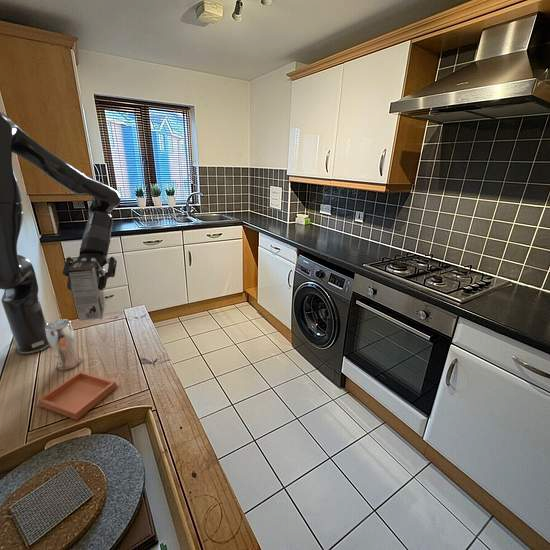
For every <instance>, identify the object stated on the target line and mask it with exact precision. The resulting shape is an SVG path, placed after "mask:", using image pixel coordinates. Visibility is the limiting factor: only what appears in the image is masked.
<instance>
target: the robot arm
mask: <svg viewBox="0 0 550 550" xmlns="http://www.w3.org/2000/svg"><path fill="white" fill-rule="evenodd" d="M13 154H15V155H17V156H18V157H20V158H22V159H24V160H25V161H27V162H28V163H29V164H31V165H33V166H34V167H35V168H37V169H38V170H39V171H41V172H42V173H43V174H44V175H46V176H47V177H49V178H50V179H51V180H53V181H54V182H56V183H57V184H59V185H60V186H62V187H63V188H65V189H67V190H68V191H70V192H71V193H73V194H74V195H77V196H84V195H88V196H91V198H90V200H89V203H88V219H87V223H86V226H85V230H84V231H83V235H82V239H81V243H80V248H79V255H78V256H77V257H76V258H72V257H71V256H68V257H66V259H65V263H64V266H63V270H62V275H63V276H65V277H66V278H67V279H68V280H67V283H66V288H67V289H68V290H69V291H71V292H72V289H71V285H70V281H69V276H68V272H67V270H68V269H69V267H70V266H71V265H72V263H73V262H74V261H80V260H81V261H87V260H91V261H97V270H98V271H99V273H100V276H101V277H100V278H99V283H98V289H99V290H104V289H106V287H107V281H108V279H109V278H115V276H116V270H117V264H118V261H117V259H116V258H115V257H114V256H110V257H108V254H109V249H110V245H111V238H112V229H113V226H114V225H113V224H114V220H113V217H112V215H111V213H112V211H113V210H114V209H116V208H117V207H118V206H119V205H120V203H121V195H120V194H119V192H118V191H117V190H115V189H114V188H113V187H111V186H110V185H108V184H105V183H103V182H102V181H99V180H97V179H95V178H92V177H89V176H87V175H86V174H85V173H84V172H82V171H81V170H79V169H78V168H76V167H75V166H73V165H71V164H70V163H68V162H67V161H65V160H64V159H62V158H61V157H59V156H57V155H56V154H55V153H53V152H51V151H50V150H48V149H47V148H45V147H44V146H42V145H41V144H39V143H38V142H37V141H36V140H34V139H33V138H32V137H31V136H30V135H28V134H27V132H25V131H23V129H21V128H20V127H19V126H18V125H17V124H15V122H13V120H12V119H11V118H10V117H9V116H8V115H6V114H5V113H3V112H0V290H3V291H4V292H3V294H2V297H1V300H0V301H1V304H2V308H3V311H4V313H5V316H6V319H7V322H8V324H9V325H8V326H9V329H10V330H11V333H12V337H13V340H14V343H15V346H16V348H17V352H18V354H20V355H31V354H36V353H38V352H41V351H44V350H45V349H47V348H48V347H49V348H50V346H49V344H48V341H47V338H46V333H45V328H44V327H45V325H46V324H47V323H46V319H45V315H44V312H43V309H42V305H41V301H40V298H39V291H40V290H39V284H38V280H37V276H36V272H35V268H34V266H33V264H32V262H31V260H29V259H28V258H27V257H25V256H23V255H20V254H18V241H19V237H20V233H21V230H22V226H23V221H24V210H23V199H22V194H21V190H20V187H19V182H18V181H17V178H16V174H15V171H14V165H13ZM106 264H108V267H107V272H106V270H105V269H104V266H105V265H106Z"/></svg>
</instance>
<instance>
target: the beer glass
mask: <svg viewBox="0 0 550 550" xmlns="http://www.w3.org/2000/svg"><path fill="white" fill-rule="evenodd" d="M44 328H45V333H46V338H47V341H48V344H49V348H50V350H51V351H52V353H53V354H54V356H55V360H56V368H57V370H59V371H68V370H72V369H74V368H75V367H77V366H78V365H79V364H80V363H81V361H80V360H81V359H80V358H79V356H78V354H77V351H76V334H75V331H74V328H73V325H72V322H71V320H70V319H68V318H61V319H55V320H52V321H49V322H48V323H46V325H45V327H44Z"/></svg>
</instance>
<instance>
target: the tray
mask: <svg viewBox="0 0 550 550" xmlns="http://www.w3.org/2000/svg"><path fill="white" fill-rule="evenodd" d="M117 388H118V386H117V381H115V380H112V379H108V378H106V377H102V376H98V375H95V374H93V373H89V372H85V371H83V370H80V371H79V372H77V373H76V374H74V375H73V376H71V377H70V378H68V379H67V380H65V381H64V382H62V383H61V384H60V385H58V386H56V387H55V388H53V389H52V390H50V391H49V392H48V393H46V394H44V395H43V396H42V397H40V398H38V399H37V402H38V405H39V407H41V408H43V409H47V410H48V411H52V412H54V413H57V414H59V415H62V416H65V417H68V418H71V419H73V420H76V421H78V420H79V419H80V418H82V417H83V416H84V415H86V413H88V412H89V411H90V410H91V409H92V408H93V407H95V406H96V405H97V404H98V403H100V402H101V401H102V400H103V399H105V398H107V396H108V395H110V393H112V392H114V391H115V389H117Z"/></svg>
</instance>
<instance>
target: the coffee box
mask: <svg viewBox="0 0 550 550" xmlns="http://www.w3.org/2000/svg"><path fill="white" fill-rule="evenodd" d="M67 272H68V276H69V278H68V279H69V281H70V285H71V289H72V291H71V293H72V298H73V301H74V305H75V309H76V313H77V317H78V318H77V319H78V322H81V321H87V320H88V321H89V320H98V319H103V317H104V314H105V311H106V307H107V301H106V297H105V296H106V295H105V291H104V289H103V290H99V289H98V283H99V278H100V277H101V275H100V273H99V271H98V270H97V261H91V260H87V261H81V260H80V261H74V262H73V263H72V265H71V266H70V267H69V269H68V270H67Z"/></svg>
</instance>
